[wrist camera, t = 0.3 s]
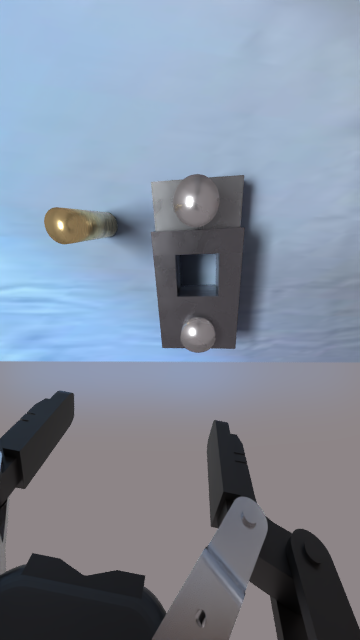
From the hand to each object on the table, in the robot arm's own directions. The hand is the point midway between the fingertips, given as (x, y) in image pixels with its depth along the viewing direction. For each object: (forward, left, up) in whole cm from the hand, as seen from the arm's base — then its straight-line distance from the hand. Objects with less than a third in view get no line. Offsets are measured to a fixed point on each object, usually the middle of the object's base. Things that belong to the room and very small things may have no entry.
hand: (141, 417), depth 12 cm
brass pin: (-3, -13, -21) cm, 25 cm away
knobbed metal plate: (-5, 0, -21) cm, 22 cm away
